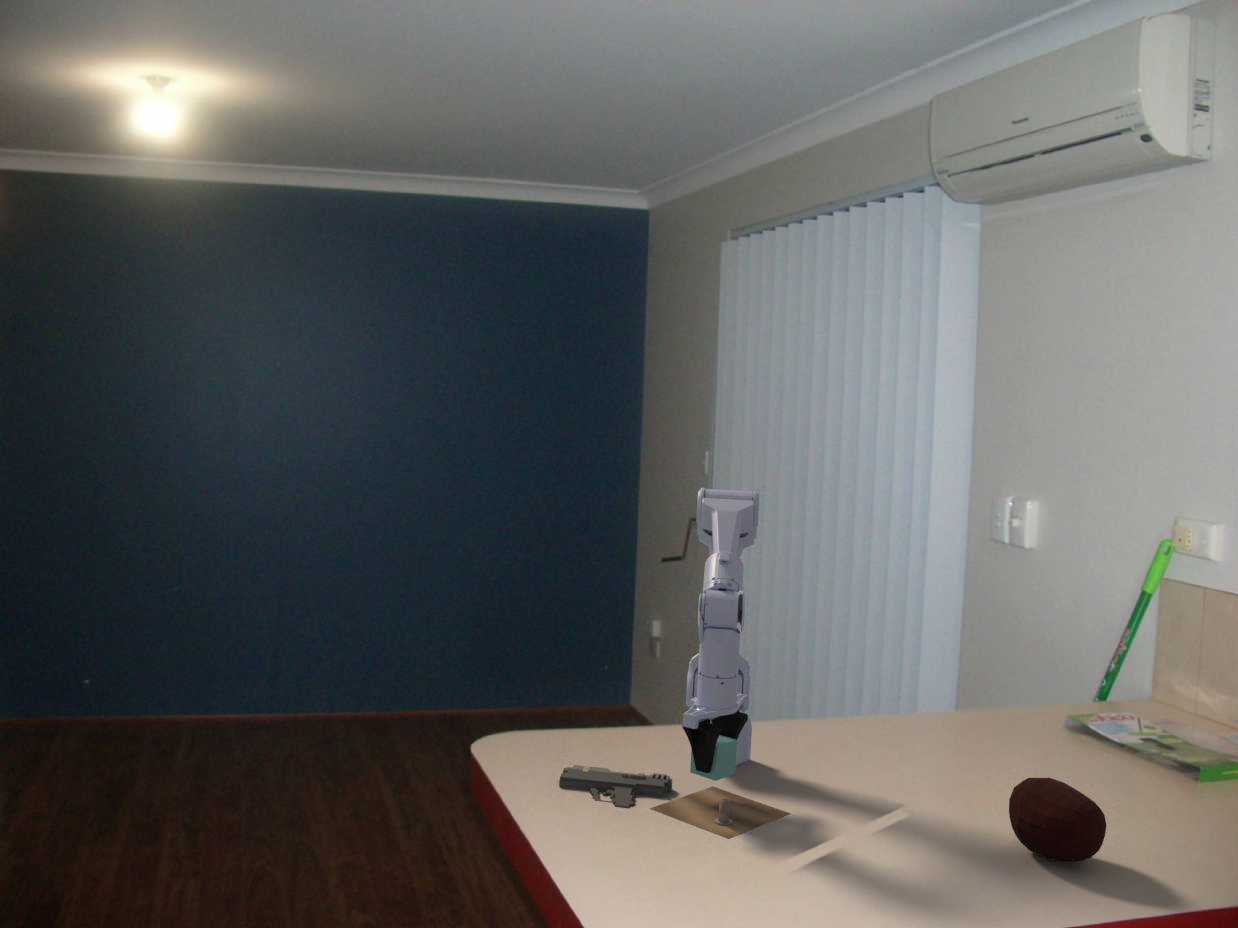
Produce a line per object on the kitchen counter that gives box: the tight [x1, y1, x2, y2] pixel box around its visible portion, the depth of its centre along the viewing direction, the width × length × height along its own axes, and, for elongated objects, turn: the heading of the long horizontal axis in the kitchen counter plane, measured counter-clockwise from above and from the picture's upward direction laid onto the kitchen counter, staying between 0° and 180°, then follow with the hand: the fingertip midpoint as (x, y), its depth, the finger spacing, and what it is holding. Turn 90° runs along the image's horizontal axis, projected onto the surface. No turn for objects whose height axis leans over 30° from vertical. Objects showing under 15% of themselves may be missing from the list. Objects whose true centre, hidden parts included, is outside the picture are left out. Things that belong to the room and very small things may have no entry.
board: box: [649, 786, 792, 840], centre depth 169 cm, size 14×14×4 cm
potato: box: [1008, 777, 1107, 863], centre depth 159 cm, size 11×13×10 cm
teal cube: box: [689, 735, 737, 782], centre depth 173 cm, size 5×5×5 cm
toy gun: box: [558, 764, 673, 809], centre depth 174 cm, size 4×16×10 cm
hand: (713, 766), depth 173 cm, fingers closed on teal cube, 5 cm apart
